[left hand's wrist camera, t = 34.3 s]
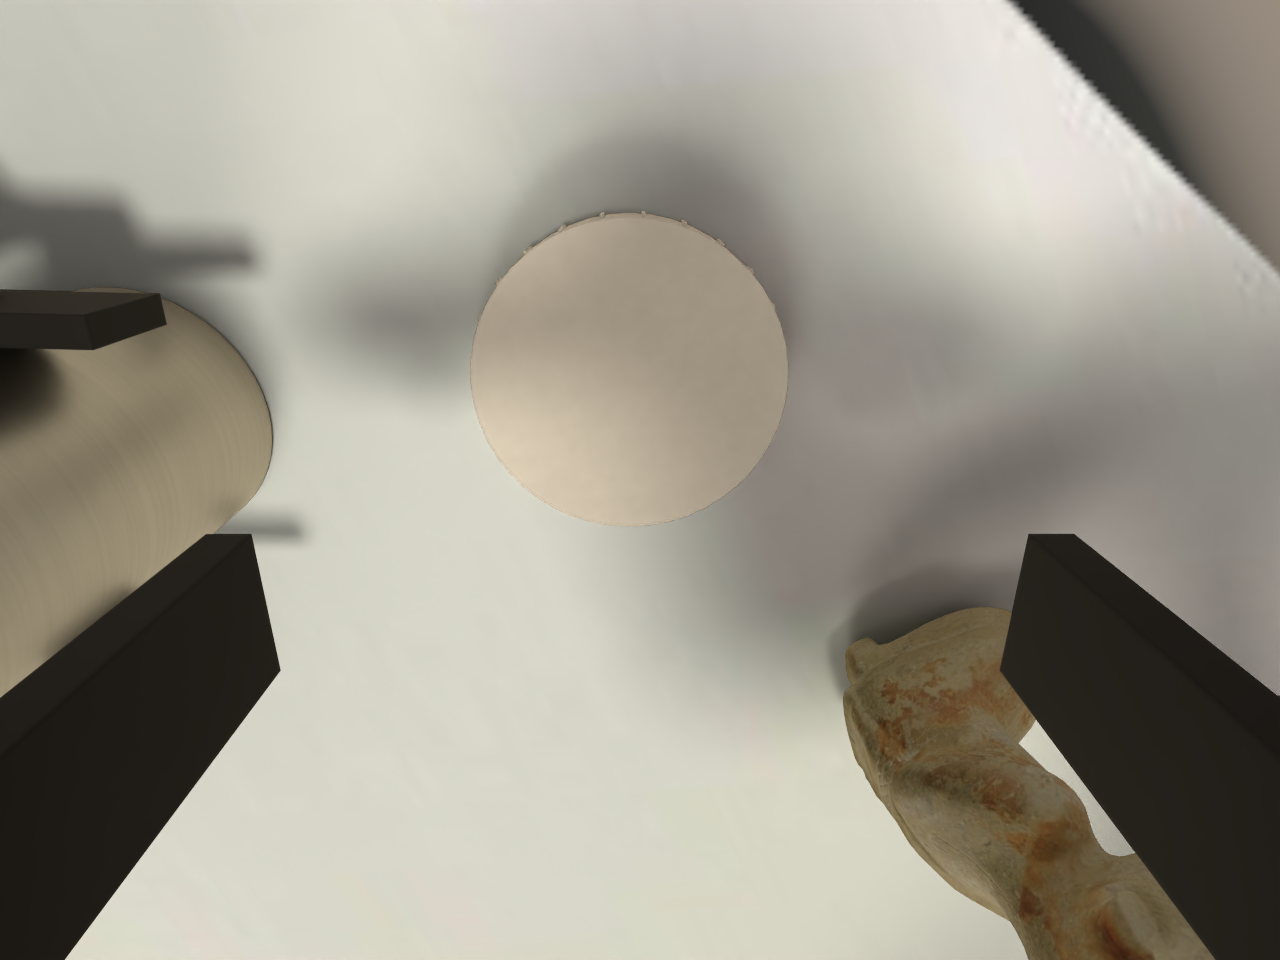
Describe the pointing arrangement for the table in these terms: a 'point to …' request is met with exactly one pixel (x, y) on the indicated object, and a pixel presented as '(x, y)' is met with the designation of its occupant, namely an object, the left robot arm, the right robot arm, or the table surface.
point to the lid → (629, 370)
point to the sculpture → (996, 797)
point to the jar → (115, 472)
